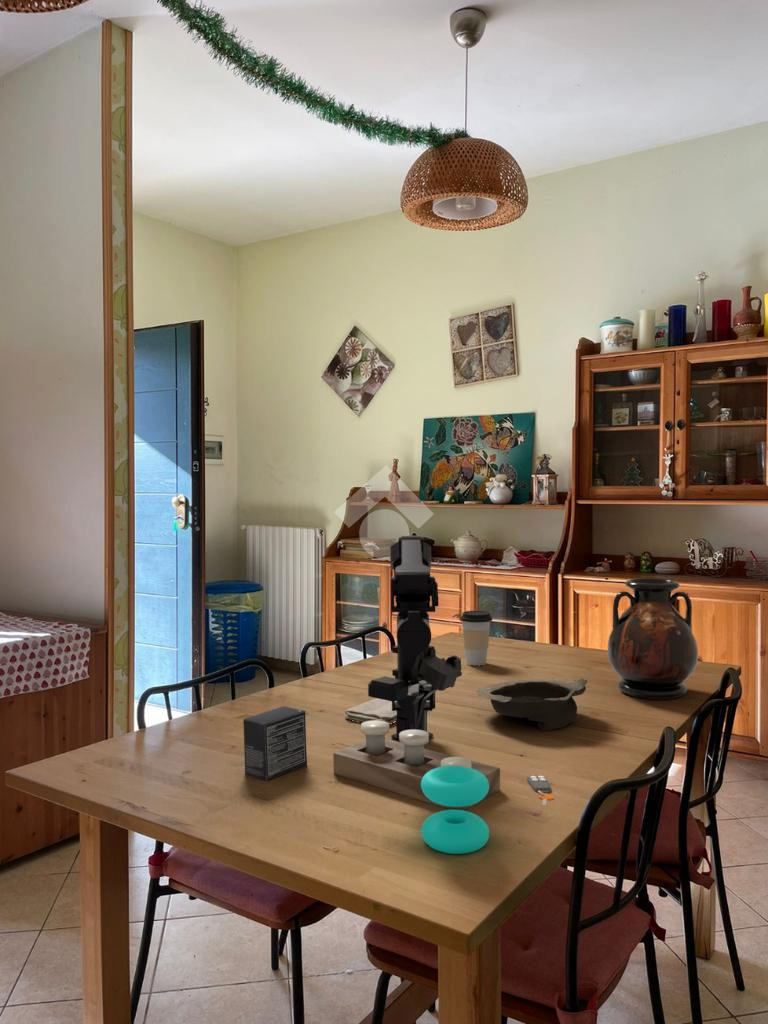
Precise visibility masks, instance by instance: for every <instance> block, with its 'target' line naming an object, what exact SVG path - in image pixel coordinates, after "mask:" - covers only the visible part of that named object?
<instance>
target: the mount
mask: <svg viewBox="0 0 768 1024" xmlns="http://www.w3.org/2000/svg"><path fill="white" fill-rule="evenodd" d="M448 757H456V756H453V755H450V754H446V753H442V752H439V751H436V750H435V751H434V750H430V749H427V748H424V764H423V765H421V766H417V767H414V766H410V765H407V764H404V744H402V743H400V742H399V741H395V740H391V739H388V738H385V753H384V754H381V755H379V756H374V755H370V754H367V753H366V739H365V740H363V741H360V742H358V743H355V744H353V745H350V746H347V747H345V748H342V749H340V750H337V751H335V752H333V759H332V760H333V774H334V775H338V776H341V777H344V778H347V779H351V780H353V781H357V782H360V783H363V784H367V785H369V786H373V787H376V788H380V789H383V790H386V791H390V792H392V793H396V794H399V795H403V796H406V797H409V798H413V799H416V800H420V801H422V802H426V803H429V804H432V805H435V806H438V807H441V808H444V809H447V810H463V811H467V810H468V809H470V808H472V807H474V806H475V805H476V804H478V803H480V802H481V801H484V800H485V799H487V798H488V797H490V796H492V795H494V794H495V793H497V792H499V791H500V790H501V768H500V767H498V766H493V765H489V764H487V763H481V762H479V761H473V760H470V761H471V766H472V769H475V770H477V771H479V772H481V773H482V774H483V775H485V777H486V778H487V780H488V783H489V790H488V793H487V795H486V796H485V797H484V798H483V799H482V800H481V801H479V802H478V803H475V804H473V805H469V806H464V807H449V806H443V805H440V804H437V803H435V802H433V801H431V800H430V799H428V798H427V797H426V796H425V794H424V793H423V791H422V788H421V781H422V778H423V776H424V775H425V774H426V773H427V772H429V771H430V770H432V769H435V768H438V767H441V760H443V759H445V758H448Z"/></svg>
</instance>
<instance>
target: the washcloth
mask: <svg viewBox="0 0 768 1024" xmlns="http://www.w3.org/2000/svg"><path fill="white" fill-rule="evenodd" d="M395 702H397V701H395ZM344 713H345V715H346V717H344V720H349V719H350V720H349V721H351V720H353V721H352V722H354V721H358V722H366V721H374V720H378V721H385V722H387V723H389V724H390V723H393V722H394V721H396V718H397V711H392V701H387V700H383V699H378V698H373V699H371V700H367V701H366V702H363V703H360V704H357V705H355V706H353V707H349V708H348V709H346V710H345V712H344ZM358 722H357V723H358Z"/></svg>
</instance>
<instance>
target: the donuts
mask: <svg viewBox="0 0 768 1024" xmlns="http://www.w3.org/2000/svg"><path fill="white" fill-rule="evenodd" d="M421 788H422V791H423V793H424V794H425V796H426V797H427V798H428V799H430V800H431V801H433V802H435V803H437V804H440V805H443V806H449V807H464V806H469V805H473V804H475V803H477V804H478V803H480V802H481V800H482V799H483V798H484V797H485V796H486V795H487V793H488V790H489V783H488V780H487V778H486V777H485V775H483V774H482V773H481V772H479V771H477V770H475V769H472V768H469V767H463V766H443V767H438V768H435V769H432V770H430V771H429V772H427V773H426V774H425V775H424V776H423V778H422V781H421ZM479 801H480V802H479ZM482 801H483V800H482ZM475 805H476V804H475ZM473 806H474V805H473ZM489 829H490V828H489V825H488V824H487V822H486V820H484V819H483V818H482V817H480V815H478V814H475V813H473V812H471V811H467V810H465V811H463V810H451V809H446V810H445V809H444V810H441V811H440V810H439V811H437V812H435V813H432V814H431V815H429V816H428V817H427V818H426V819H425V820H424V821H423V823H422V825H421V829H420V830H421V831H420V833H421V837H422V839H423V841H424V843H425V844H426V845H428V846H429V847H430V848H431V849H433V850H435V851H439V852H441V853H445V854H453V855H455V854H456V855H459V854H460V855H461V854H469V853H473V852H476V851H478V850H480V849H482V848H483V847H484V846H485V845H486V844H487V843H488V841H489V838H490V830H489Z"/></svg>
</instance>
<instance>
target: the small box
mask: <svg viewBox="0 0 768 1024" xmlns="http://www.w3.org/2000/svg"><path fill="white" fill-rule="evenodd" d="M242 721H243V747H244V749H243V751H244V754H243V755H244V775H247V776H250V777H253V778H255V779H259V780H261V781H262V780H263V781H265V782H268V781H270V780H273V779H275V778H278V777H280V776H283V775H285V774H288V773H290V772H293V771H295V770H297V769H301V768H302V767H306V766H308V757H307V756H308V755H307V753H308V752H307V729H306V728H307V727H306V726H307V725H306V723H307V722H306V710H303V709H298V708H295V707H288V706H284V705H283V706H280V707H277V708H273V709H271V710H268V711H264V712H262V713H259V714H256V715H252V716H249V717H245V718H243V720H242Z"/></svg>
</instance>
